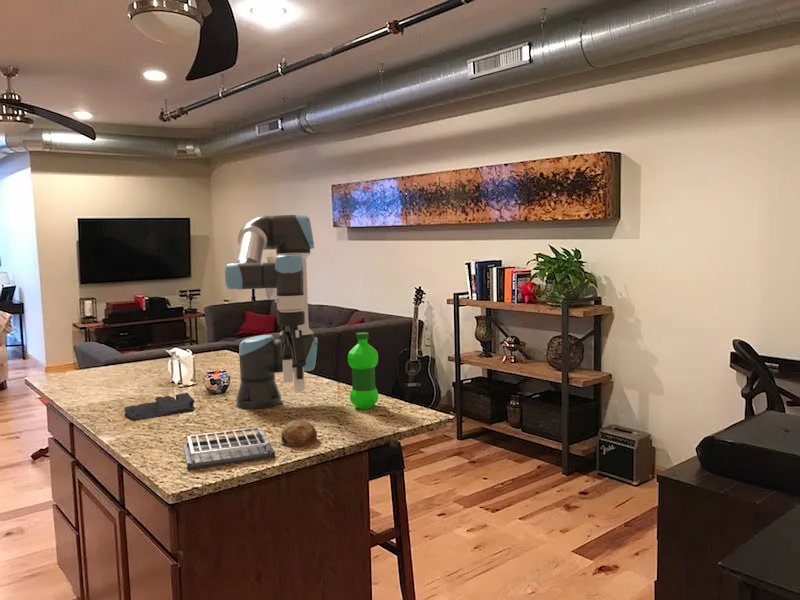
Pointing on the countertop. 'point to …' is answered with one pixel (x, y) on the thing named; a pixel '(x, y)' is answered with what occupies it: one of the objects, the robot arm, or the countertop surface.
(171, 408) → the dark slate chunk
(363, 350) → the plastic bottle
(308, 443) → the bread roll
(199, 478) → the countertop surface
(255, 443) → the cooling rack
